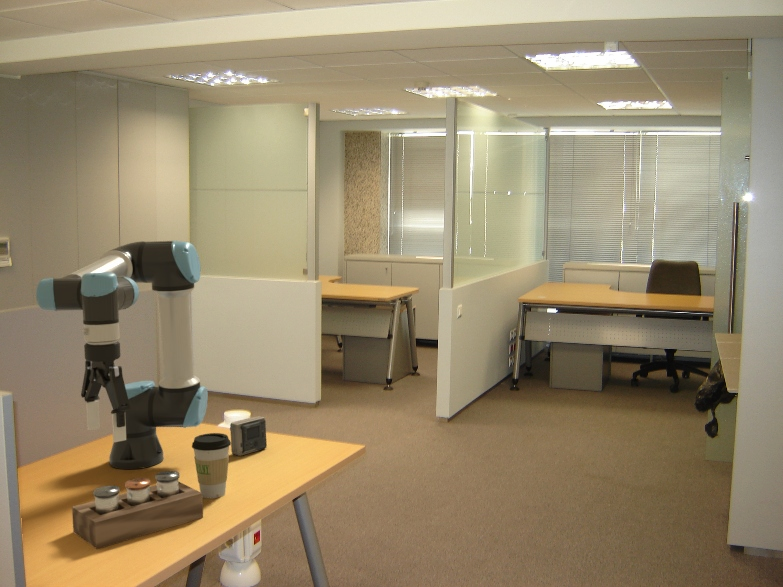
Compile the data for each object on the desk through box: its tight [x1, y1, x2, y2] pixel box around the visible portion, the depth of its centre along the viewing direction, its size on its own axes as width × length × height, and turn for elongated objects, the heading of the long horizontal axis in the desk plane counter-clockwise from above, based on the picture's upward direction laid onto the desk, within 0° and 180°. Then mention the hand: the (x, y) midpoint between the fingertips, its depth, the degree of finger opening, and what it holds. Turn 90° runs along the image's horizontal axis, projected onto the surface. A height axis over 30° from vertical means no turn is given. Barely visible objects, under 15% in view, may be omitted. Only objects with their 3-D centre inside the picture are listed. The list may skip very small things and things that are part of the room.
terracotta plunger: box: [124, 477, 151, 506], centre depth 189 cm, size 6×6×7 cm
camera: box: [229, 415, 268, 457], centre depth 245 cm, size 11×6×10 cm, turn 136°
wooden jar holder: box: [71, 480, 204, 550], centre depth 189 cm, size 13×26×6 cm, turn 133°
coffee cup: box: [191, 432, 231, 499], centre depth 209 cm, size 10×10×15 cm
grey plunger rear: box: [154, 470, 180, 498], centre depth 194 cm, size 6×6×7 cm
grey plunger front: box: [92, 485, 120, 515], centre depth 184 cm, size 6×6×7 cm
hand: (106, 435), depth 182 cm, fingers open, 13 cm apart
